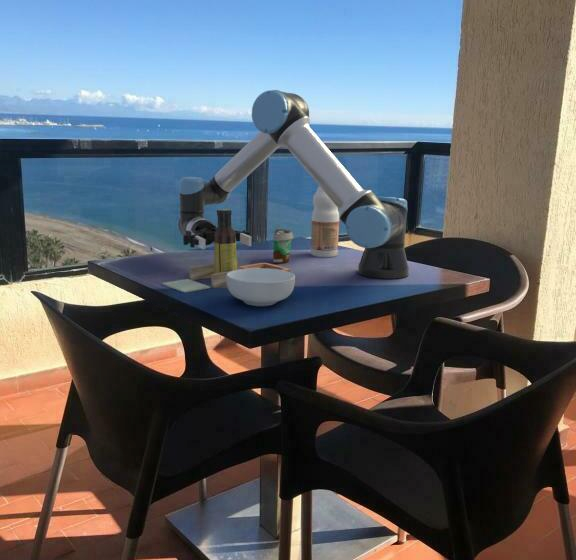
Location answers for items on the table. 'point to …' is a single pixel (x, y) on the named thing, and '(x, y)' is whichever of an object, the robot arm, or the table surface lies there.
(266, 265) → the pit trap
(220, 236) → the sauce bottle
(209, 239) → the robot arm
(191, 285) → the pad
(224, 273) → the trough
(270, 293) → the cereal bowl
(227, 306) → the table surface
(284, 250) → the food container
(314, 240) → the fruit juice
